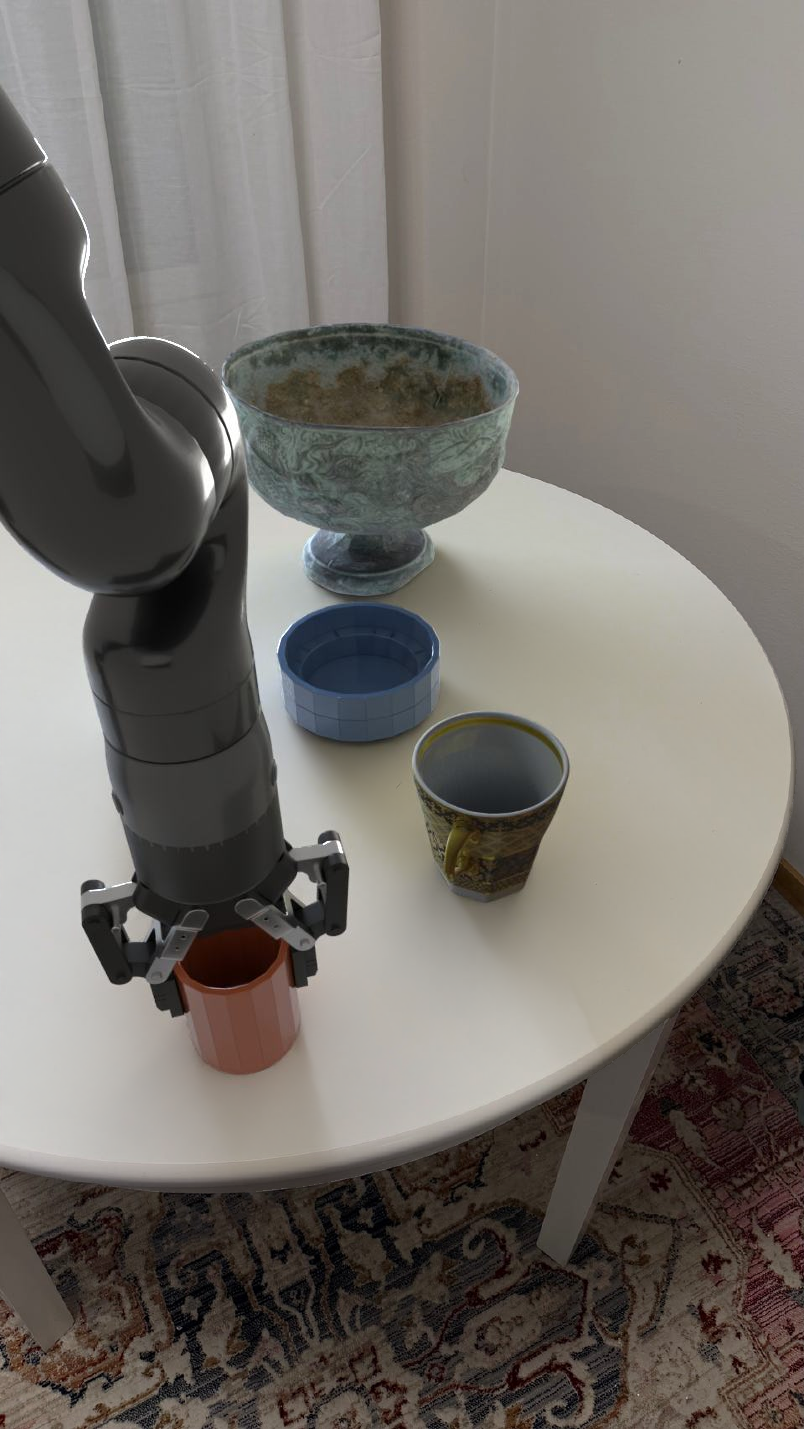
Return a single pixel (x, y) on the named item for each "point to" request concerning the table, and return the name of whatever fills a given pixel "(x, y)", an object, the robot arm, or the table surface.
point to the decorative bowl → (370, 440)
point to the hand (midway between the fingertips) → (238, 988)
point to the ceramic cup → (488, 798)
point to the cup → (239, 999)
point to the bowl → (359, 671)
